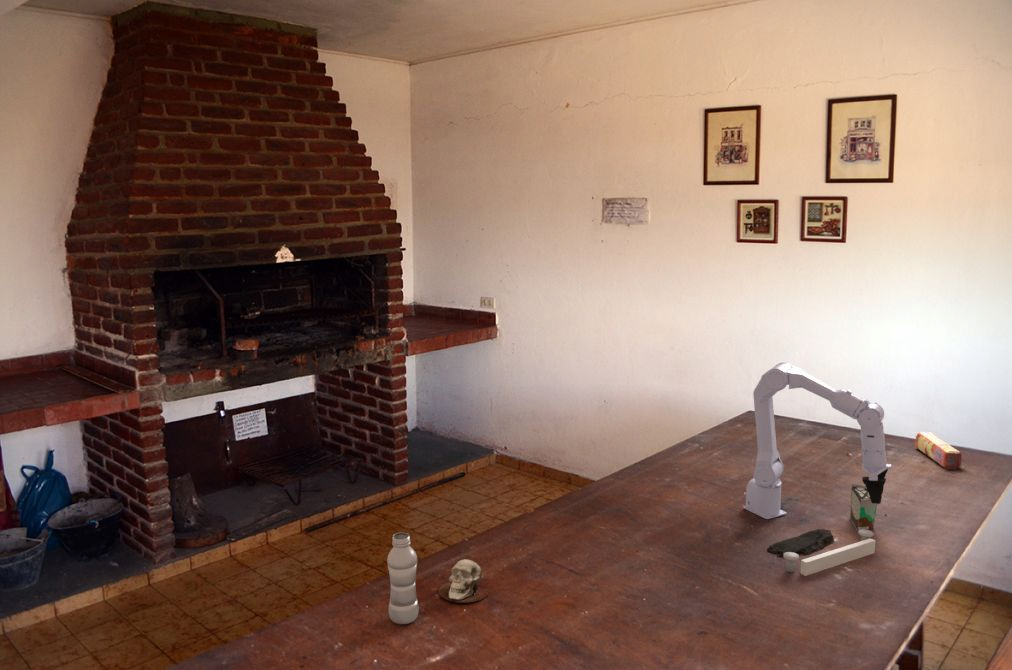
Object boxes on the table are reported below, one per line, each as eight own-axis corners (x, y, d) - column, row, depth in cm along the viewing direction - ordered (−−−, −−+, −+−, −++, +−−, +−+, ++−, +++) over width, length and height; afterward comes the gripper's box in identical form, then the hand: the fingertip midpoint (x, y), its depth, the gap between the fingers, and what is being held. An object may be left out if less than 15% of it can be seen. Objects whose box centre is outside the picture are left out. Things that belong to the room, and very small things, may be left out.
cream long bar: (779, 569, 195) (780, 554, 195) (863, 542, 209) (864, 528, 208) (797, 578, 191) (797, 563, 190) (881, 550, 204) (883, 536, 204)
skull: (475, 607, 178) (448, 569, 180) (448, 626, 183) (423, 589, 185) (502, 582, 188) (476, 547, 190) (476, 601, 193) (451, 566, 195)
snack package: (962, 469, 261) (964, 450, 260) (942, 469, 261) (944, 450, 260) (932, 448, 282) (933, 430, 281) (913, 448, 282) (914, 430, 281)
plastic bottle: (389, 613, 178) (386, 530, 174) (419, 611, 178) (416, 529, 174) (388, 629, 171) (384, 543, 167) (419, 627, 172) (416, 541, 168)
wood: (786, 563, 199) (787, 552, 198) (764, 551, 205) (765, 540, 205) (846, 544, 209) (847, 533, 209) (823, 533, 216) (824, 523, 215)
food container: (883, 536, 213) (886, 501, 211) (858, 534, 214) (861, 500, 212) (871, 517, 224) (874, 484, 223) (848, 516, 226) (851, 483, 224)
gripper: (888, 457, 201) (892, 508, 203) (891, 441, 214) (895, 489, 215) (858, 456, 205) (862, 506, 206) (863, 441, 217) (867, 488, 219)
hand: (877, 498), depth 211 cm, fingers open, 7 cm apart
